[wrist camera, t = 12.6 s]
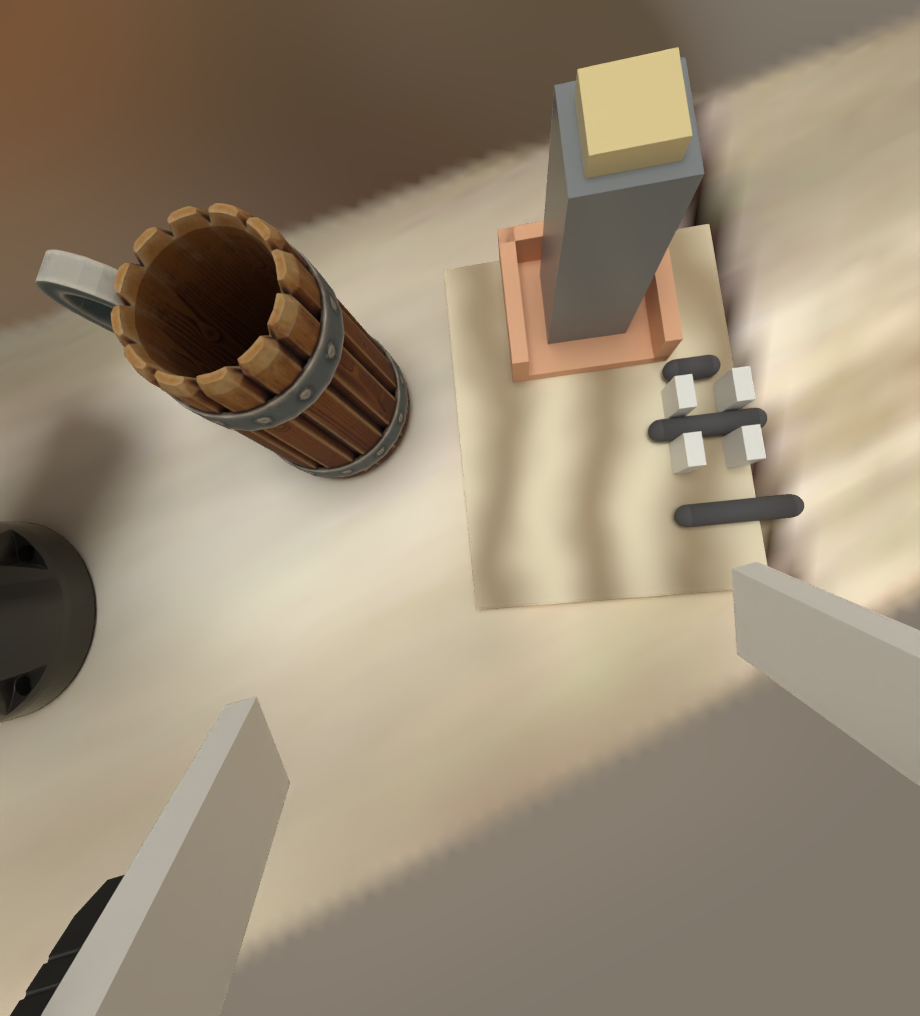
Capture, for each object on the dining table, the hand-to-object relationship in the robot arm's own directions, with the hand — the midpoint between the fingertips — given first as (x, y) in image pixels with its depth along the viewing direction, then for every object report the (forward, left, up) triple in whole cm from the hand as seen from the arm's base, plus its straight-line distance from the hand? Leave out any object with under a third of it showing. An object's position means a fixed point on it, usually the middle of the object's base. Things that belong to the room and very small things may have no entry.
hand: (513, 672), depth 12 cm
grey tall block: (+6, +19, -16) cm, 26 cm away
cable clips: (+13, +10, -17) cm, 23 cm away
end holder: (+6, +19, -17) cm, 26 cm away
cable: (+13, +9, -17) cm, 23 cm away
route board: (+6, +12, -18) cm, 22 cm away
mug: (-14, +16, -18) cm, 28 cm away
